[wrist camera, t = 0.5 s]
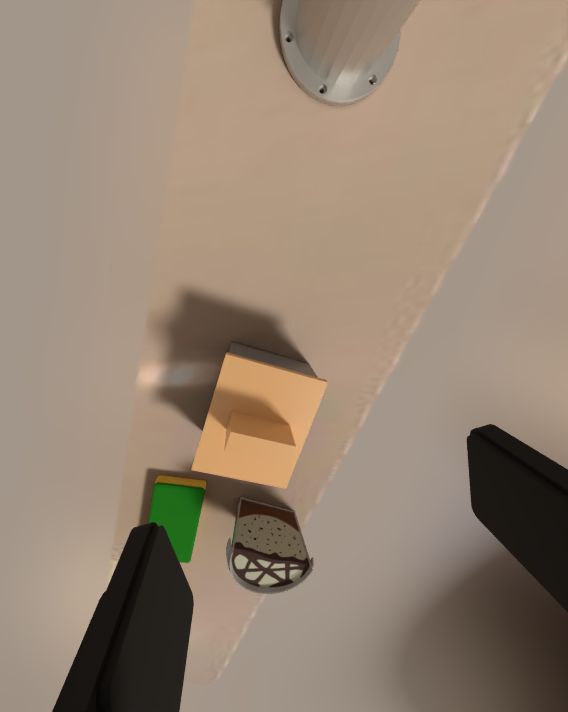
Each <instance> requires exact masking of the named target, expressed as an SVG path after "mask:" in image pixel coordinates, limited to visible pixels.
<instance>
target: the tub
mask: <svg viewBox="0 0 568 712" xmlns="http://www.w3.org/2000/svg"><path fill="white" fill-rule="evenodd" d="M228 353H232V354H235V355H239V356H242V357H246V358H249V359H253V360H256V361H260V362H264V363H267V364H271V365H274V366H278V367H281V368H285V369H289V370H292V371H296V372H299V373H303V374H306V375H310V376H313V377H317V376H316V374H315V372H314V371H313V369H312V368H311V366H310V364H308V363H305V362H302V361H298V360H295V359H291V358H288V357H284V356H281V355H277V354H274V353H270V352H267V351H263V350H260V349H257V348H253V347H250V346H246V345H243V344H239V343H236V342H232V341H231V345H230V348H229V351H228ZM317 378H318V377H317Z"/></svg>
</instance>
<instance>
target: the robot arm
mask: <svg viewBox="0 0 568 712" xmlns="http://www.w3.org/2000/svg"><path fill="white" fill-rule="evenodd" d="M419 2H420V0H283V1H282V6H281V12H280V22H279V33H280V44H281V49H282V54H283V57H284V60H285V62H286V65H287V68H288V70H289V71H290V73H291V75H292V77H293V79H294V80H295V81H296V83H297V84H298V85H299V86H300V88H301V89H302V90H303V91H305V92H306V93H307V94H308V95H309V96H310V97H312V98H314V99H316V100H317V101H319V102H321V103H325V104H328V105H333V106H345V105H350V104H354V103H356V102H358V101H361V100H363V99H364V98H366V97H367V96H368V95H370V94H371V93H372V92H373V91H374V90H375V89H376V88H377V87H378V86H379V85H380V84H381V82H382V81H383V80H384V78H385V77H386V76H387V74H388V72H389V70H390V68H391V67H392V65H393V62H394V60H395V57H396V54H397V51H398V46H399V41H400V33H401V28H402V26H403V25H404V23H405V22H406V20H407V19H408V17H409V16H410V15H411V13H412V12H413V10H414V9H415V7H416V6H417V5H418V3H419ZM286 40H289V41H290V42H287V41H286ZM369 82H371V83H372V85H371V84H370V83H369ZM320 91H323V94H321V93H320ZM467 450H468V464H469V478H470V491H471V505H472V509H473V512H474V513H475V515H476V517H477V518H478V519H479V520H480V521H481V522H482V523H483V524H484V526H485V527H486V528H487V529H488V530H489V531H490V532H491V533H492V534H493V535H494V536H495V537H496V538H497V539H498V540H499V541H500V542H501V543H502V544H503V545H504V546H505V547H506V548H507V549H508V551H509V552H510V553H511V554H512V555H513V556H514V557H515V558H516V559H517V560H518V561H519V562H520V563H521V564H522V565H523V566H524V567H525V568H526V569H527V570H528V571H529V572H530V573H531V574H532V575H533V577H534V578H536V580H537V581H538V582H539V583H540V584H541V585H542V586H543V587H544V588H545V589H546V590H547V591H548V592H549V593H550V594H551V595H552V596H553V597H554V598H555V599H556V600H557V602H559V604H560V605H561V606H562V607H563V608H564V609H565V610H566V611H567V612H568V469H566V468H564V467H563V466H561V465H559V464H557V463H556V462H554V461H553V460H551V459H549V458H548V457H546V456H544V455H543V454H541V453H539V452H538V451H536V450H534V449H533V448H531V447H529V446H528V445H526V444H525V443H523V442H521V441H519V440H518V439H516V438H515V437H513V436H511V435H510V434H508V433H507V432H505V431H503V430H502V429H500V428H498V427H497V426H495V425H492V424H489V425H486V426H482V427H479V428H475V429H473V430H471V432H470V436H468V437H467ZM193 605H194V604H193V594H192V591H191V589H190V586H189V584H188V582H187V579H186V577H185V575H184V572H183V570H182V567H181V565H180V563H179V560H178V558H177V556H176V553H175V551H174V549H173V546H172V544H171V542H170V539H169V537H168V534H167V532H166V530H165V528H164V526H163V525H161V526H158V525H157V523H155V522H151V523H148V524H145V525H141V526H138V527H134V528H133V529H132V531H131V532H130V535H129V537H128V540H127V542H126V544H125V547H124V549H123V552H122V554H121V556H120V559H119V561H118V564H117V566H116V569H115V571H114V573H113V576H112V578H111V581H110V583H109V585H108V588H107V590H106V591H105V592H104V593H103V595H102V597H101V598H100V600H99V603H98V605H97V607H96V610H95V612H94V614H93V617H92V619H91V622H90V624H89V626H88V628H87V631H86V633H85V636H84V638H83V640H82V643H81V645H80V648H79V650H78V652H77V655H76V657H75V659H74V662H73V664H72V666H71V669H70V671H69V673H68V676H67V678H66V680H65V683H64V685H63V687H62V690H61V692H60V695H59V697H58V699H57V702H56V704H55V706H54V709H53V711H52V712H179V710H180V702H181V695H182V687H183V680H184V673H185V666H186V658H187V651H188V643H189V636H190V629H191V621H192V614H193Z"/></svg>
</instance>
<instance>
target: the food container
mask: <svg viewBox="0 0 568 712" xmlns="http://www.w3.org/2000/svg"><path fill="white" fill-rule="evenodd" d="M226 556H227V562H228V566H229V570H230V572H231V574H232V576H233V578H234V580H235V581H236V582H237V583H238V584H239V585H240V586H241V587H243V588H245V589H246V590H249V591H251V592H255V593H259V594H276V593H280V592H285V591H288V590H290V589H292V588H294V587H296V586H298V585H299V584H301V583H302V582H303V581H304V580H306V579H307V578H308V576H309V575H310V574H311V573H312V571H313V569H312V568H313V558H311V560H310V558H309V555H308V552H307V549H306V546H305V543H304V540H303V536H302V533H301V530H300V527H299V524H298V520H297V517H296V514H295V511H291V510H287V509H284V508H280V507H276V506H272V505H269V504H265V503H261V502H257V501H254V500H250V499H246V498H242V497H240V499H239V502H238V507H237V514H236V521H235V527H234V534H233V540H232V545H231V540H230V538H229V540H228V542H227V547H226Z"/></svg>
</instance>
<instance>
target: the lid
mask: <svg viewBox="0 0 568 712" xmlns="http://www.w3.org/2000/svg"><path fill="white" fill-rule="evenodd" d="M327 384H328V382H327V380H324V379H321V378H317V377H313V376H310V375H306V374H303V373H299V372H296V371H292V370H289V369H285V368H281V367H278V366H274V365H271V364H267V363H264V362H260V361H256V360H253V359H249V358H246V357H242V356H239V355H235V354H232V353H228V352H226V354H225V358H224V361H223V364H222V368H221V371H220V374H219V378H218V381H217V384H216V388H215V391H214V394H213V398H212V401H211V404H210V408H209V411H208V415H207V418H206V421H205V425H204V428H203V431H202V435H201V438H200V441H199V445H198V448H197V451H196V455H195V458H194V461H193V465H192V469H191V470H194V471H199V472H204V473H209V474H214V475H219V476H224V477H229V478H234V479H239V480H244V481H249V482H254V483H259V484H264V485H270V486H275V487H280V488H285V489H286V488H287V485H288V483H289V480H290V478H291V475H292V473H293V470H294V467H295V465H296V462H297V460H298V457H299V455H300V452H301V450H302V447H303V445H304V442H305V440H306V437H307V435H308V432H309V430H310V427H311V424H312V422H313V419H314V417H315V414H316V412H317V409H318V407H319V404H320V402H321V399H322V397H323V394H324V392H325V389H326V387H327Z"/></svg>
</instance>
